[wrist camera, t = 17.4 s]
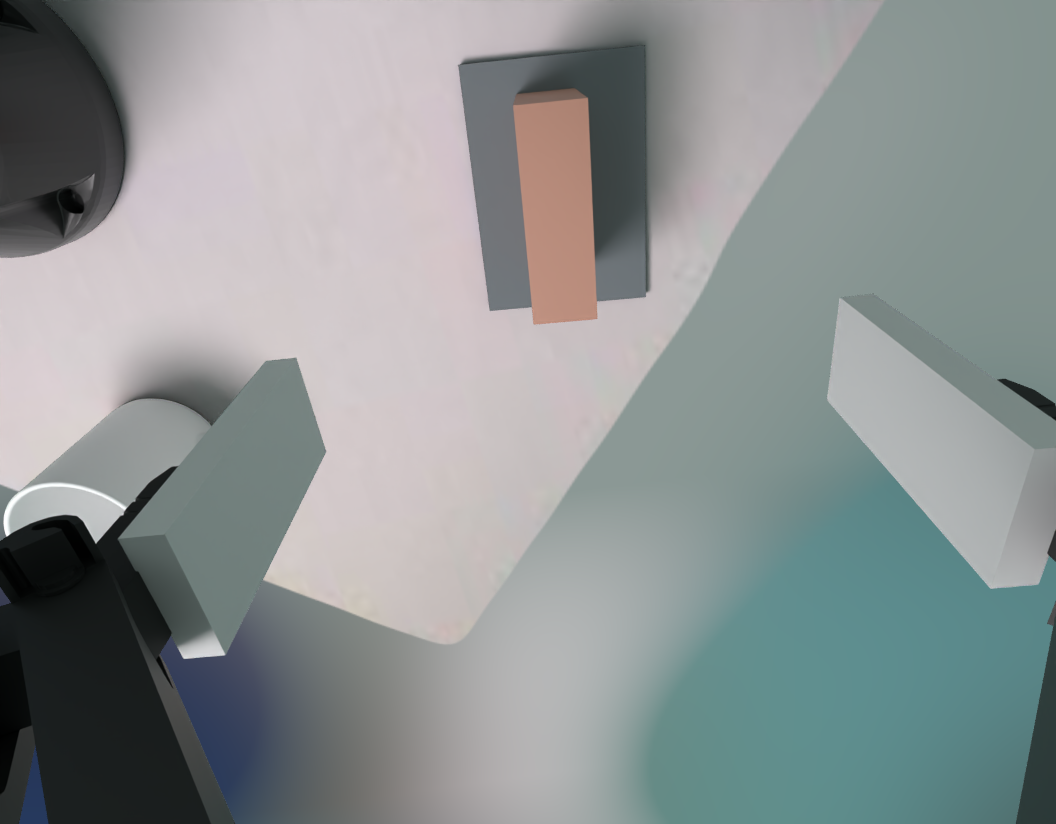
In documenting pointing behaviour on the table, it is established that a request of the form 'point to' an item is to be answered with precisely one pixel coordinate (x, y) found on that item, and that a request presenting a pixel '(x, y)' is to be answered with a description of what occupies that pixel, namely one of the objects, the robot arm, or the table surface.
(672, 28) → the table surface
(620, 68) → the mat
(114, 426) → the mug
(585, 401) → the table surface
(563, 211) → the block
